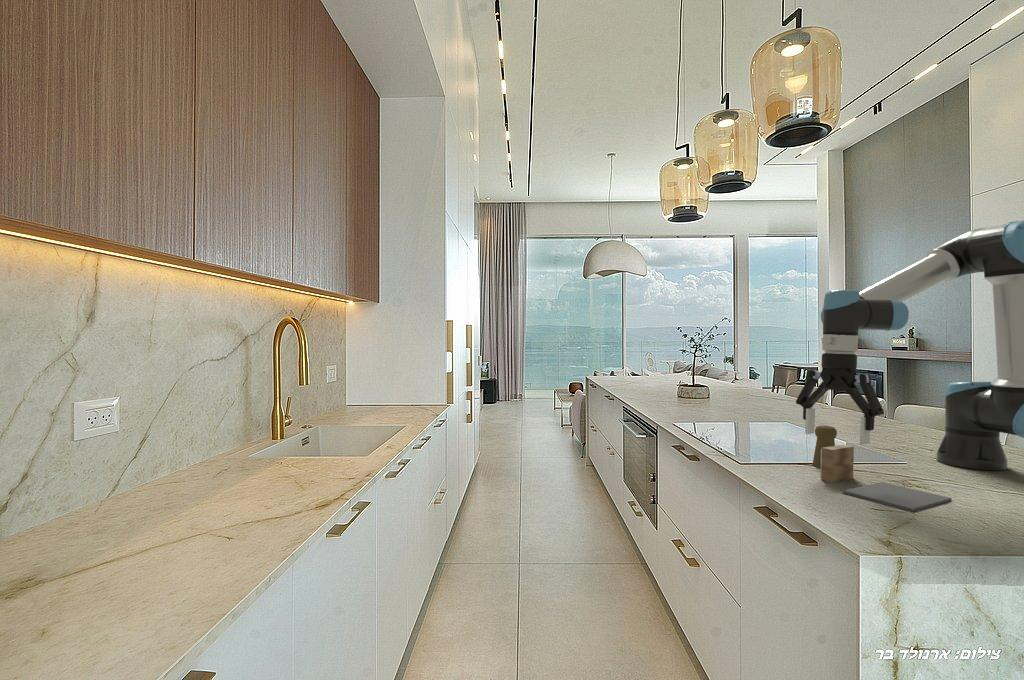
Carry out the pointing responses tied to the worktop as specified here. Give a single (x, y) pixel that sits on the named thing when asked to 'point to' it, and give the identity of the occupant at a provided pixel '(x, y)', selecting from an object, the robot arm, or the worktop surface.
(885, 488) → the mat
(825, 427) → the cork
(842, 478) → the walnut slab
